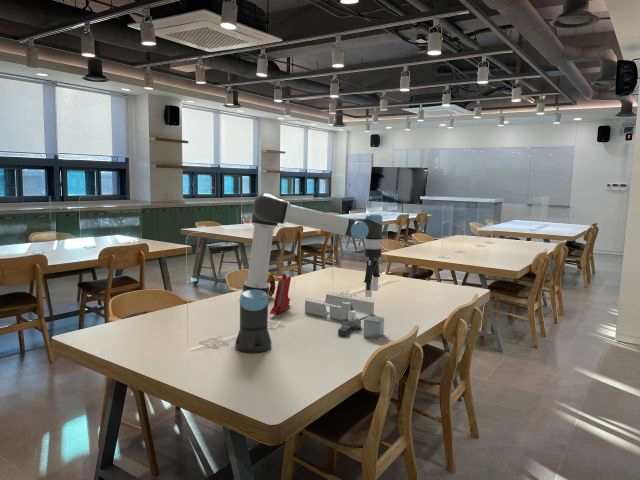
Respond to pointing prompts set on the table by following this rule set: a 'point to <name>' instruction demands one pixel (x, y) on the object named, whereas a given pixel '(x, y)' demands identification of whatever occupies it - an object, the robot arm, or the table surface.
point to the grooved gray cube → (373, 327)
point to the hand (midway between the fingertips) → (371, 293)
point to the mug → (272, 283)
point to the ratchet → (349, 324)
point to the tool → (282, 295)
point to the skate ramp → (339, 307)
